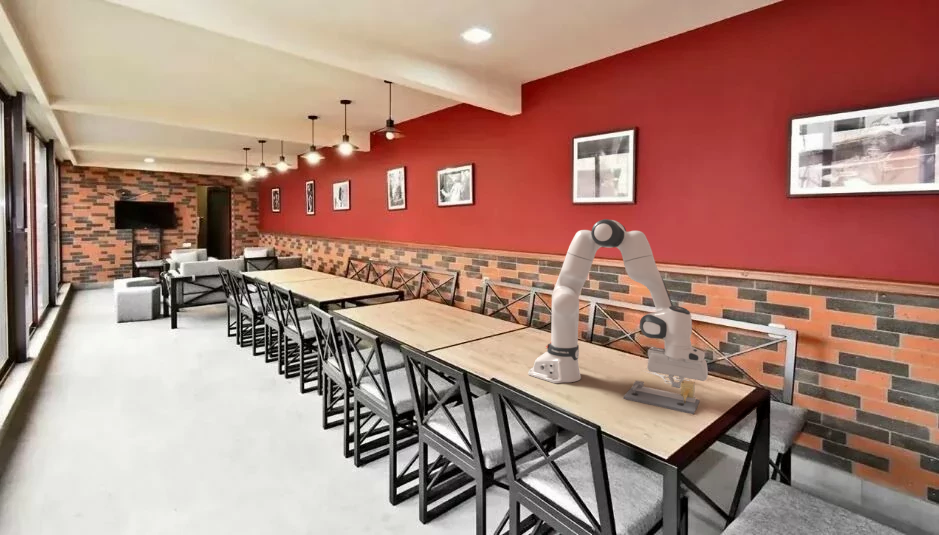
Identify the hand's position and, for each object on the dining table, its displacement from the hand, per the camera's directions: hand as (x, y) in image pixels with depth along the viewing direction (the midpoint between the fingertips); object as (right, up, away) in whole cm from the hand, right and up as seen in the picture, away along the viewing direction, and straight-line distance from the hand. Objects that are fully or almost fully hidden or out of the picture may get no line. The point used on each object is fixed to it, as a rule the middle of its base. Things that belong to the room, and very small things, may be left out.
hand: (676, 387), depth 167 cm
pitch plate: (-5, -5, +1) cm, 7 cm away
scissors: (+5, -3, +26) cm, 27 cm away
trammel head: (+2, -4, -4) cm, 6 cm away
